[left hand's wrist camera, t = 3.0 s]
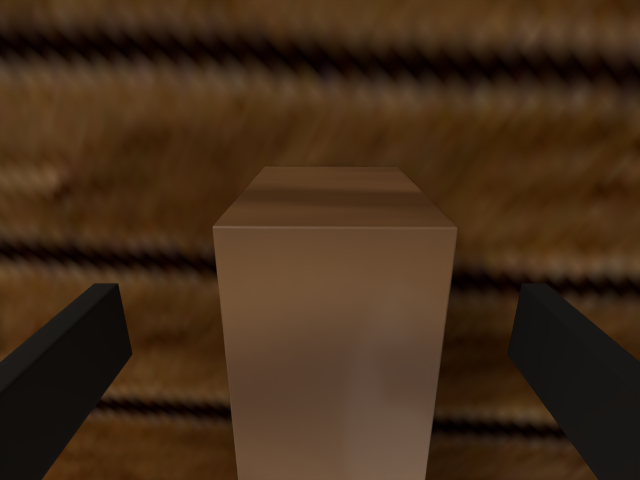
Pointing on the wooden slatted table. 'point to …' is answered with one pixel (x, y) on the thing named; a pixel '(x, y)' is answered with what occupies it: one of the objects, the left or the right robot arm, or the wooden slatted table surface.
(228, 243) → the bar
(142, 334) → the wooden slatted table surface
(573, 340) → the left robot arm
